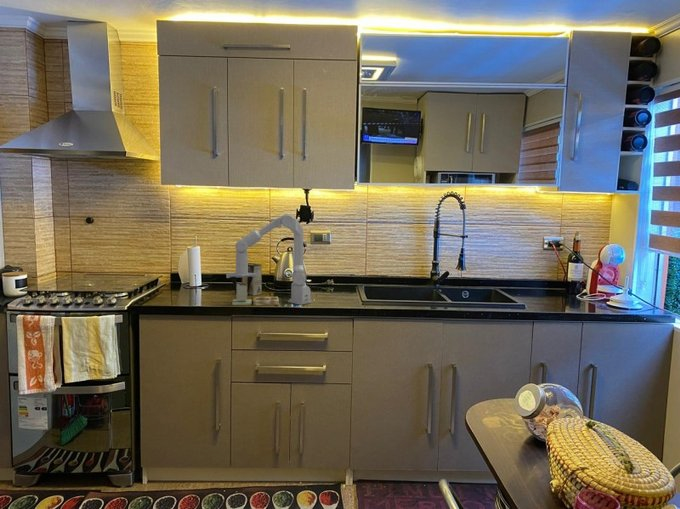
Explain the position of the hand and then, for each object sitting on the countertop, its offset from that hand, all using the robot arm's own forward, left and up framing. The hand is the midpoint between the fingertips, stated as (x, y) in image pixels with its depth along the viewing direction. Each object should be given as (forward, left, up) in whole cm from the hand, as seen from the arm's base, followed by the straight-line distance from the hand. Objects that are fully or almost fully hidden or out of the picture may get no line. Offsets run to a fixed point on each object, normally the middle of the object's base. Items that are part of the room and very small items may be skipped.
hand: (241, 292), depth 229 cm
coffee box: (+15, -18, -6) cm, 24 cm away
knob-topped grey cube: (0, 0, -3) cm, 3 cm away
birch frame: (-8, -8, -5) cm, 13 cm away
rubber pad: (0, 0, -5) cm, 5 cm away
